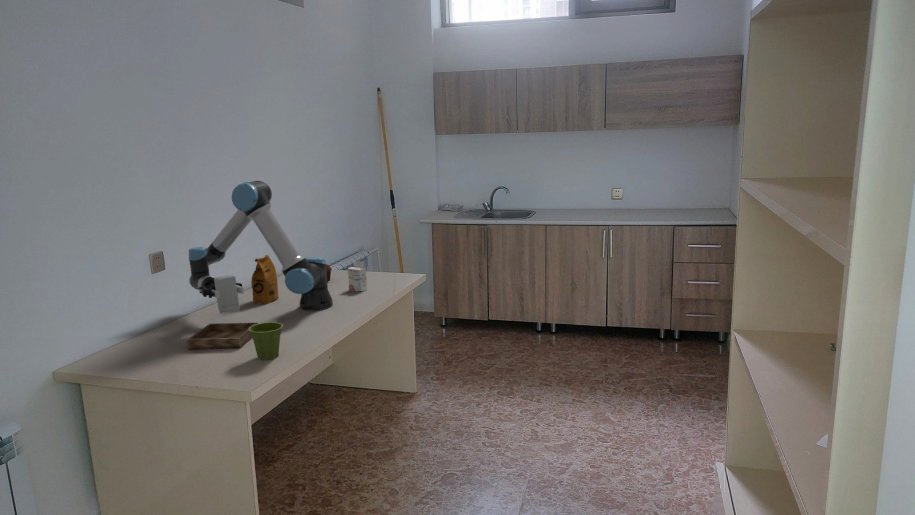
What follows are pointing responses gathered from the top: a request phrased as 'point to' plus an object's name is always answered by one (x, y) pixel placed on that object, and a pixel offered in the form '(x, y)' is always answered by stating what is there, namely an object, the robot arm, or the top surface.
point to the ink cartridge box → (357, 277)
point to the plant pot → (266, 339)
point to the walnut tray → (221, 336)
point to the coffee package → (264, 281)
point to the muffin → (328, 272)
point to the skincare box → (227, 293)
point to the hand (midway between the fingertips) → (230, 292)
